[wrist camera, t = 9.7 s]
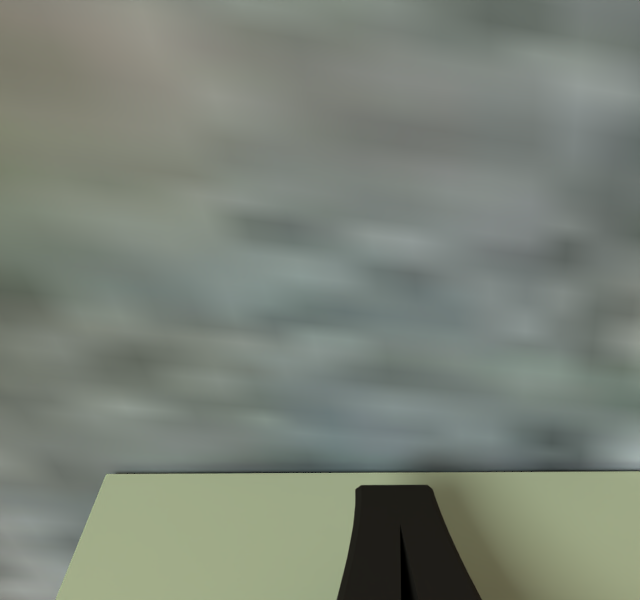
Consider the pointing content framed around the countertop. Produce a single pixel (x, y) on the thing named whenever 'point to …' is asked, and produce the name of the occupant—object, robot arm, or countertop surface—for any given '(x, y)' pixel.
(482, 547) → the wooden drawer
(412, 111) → the countertop surface
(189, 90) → the countertop surface
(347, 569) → the robot arm
